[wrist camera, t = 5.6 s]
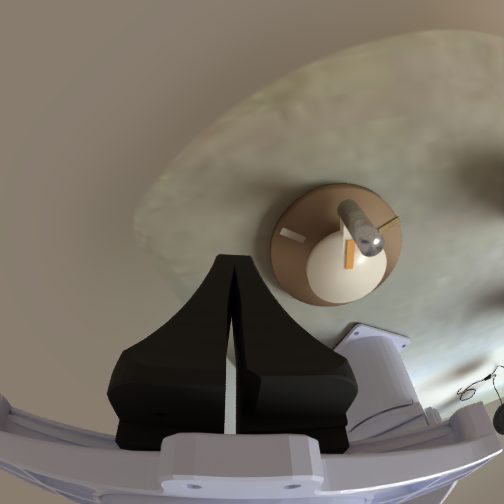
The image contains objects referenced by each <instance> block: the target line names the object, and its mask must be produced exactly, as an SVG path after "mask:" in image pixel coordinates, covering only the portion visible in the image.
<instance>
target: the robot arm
mask: <svg viewBox="0 0 504 504" xmlns="http://www.w3.org/2000/svg"><path fill="white" fill-rule="evenodd" d="M231 317H232V327H233V338H234V348H235V358H236V434H224V423H225V392H226V354H227V347H228V339H229V332H230V324H231ZM410 342H411V340H410V338H409V337H405V336H402V335H398V334H395V333H391V332H388V331H384V330H381V329H377V328H374V327H371V326H367V325H364V324H357V325H355V326H354V327H353V329H352V330H351V331H350V332H349V333H348V334H347V335H346V337H345V338H344V339H343V340H342V341H341V342H340V343H339V344H338V346H337V347H336V348H335V349H334V350H332V349H330V348H328V347H327V346H325V345H324V344H322V343H321V342H320V341H318V340H317V339H315V338H314V337H313V336H311V335H310V334H309V333H308V332H307V331H305V330H304V329H303V328H302V327H301V326H300V325H299V324H297V323H296V322H295V321H294V320H293V319H292V318H291V317H290V315H289V314H288V313H287V312H286V311H285V310H284V309H283V308H282V306H281V305H280V304H279V303H278V301H277V300H276V299H275V297H274V296H273V295H272V293H271V292H270V290H269V289H268V287H267V285H266V284H265V282H264V281H263V279H262V277H261V276H260V274H259V272H258V270H257V268H256V266H255V264H254V261H253V258H252V257H251V256H245V255H225V254H219V255H218V256H216V259H215V261H214V264H213V266H212V268H211V269H210V271H209V273H208V274H207V276H206V278H205V279H204V281H203V282H202V284H201V285H200V287H199V288H198V289H197V291H196V292H195V293H194V294H193V296H192V297H191V298H190V299H189V301H188V302H187V303H186V304H185V305H184V306H183V307H182V308H181V309H180V310H179V311H178V312H177V313H176V314H175V315H174V316H173V317H172V318H171V319H170V320H169V321H168V322H167V323H165V324H164V325H163V326H162V327H160V328H159V329H158V330H156V331H155V332H154V333H152V334H151V335H149V336H148V337H147V338H145V339H144V340H142V341H140V342H139V343H137V344H135V345H133V346H132V347H130V348H128V349H126V350H124V351H123V352H122V354H121V356H120V358H119V360H118V362H117V364H116V366H115V368H114V370H113V373H112V376H111V380H110V384H109V387H108V391H107V396H108V399H109V401H110V403H111V405H112V407H113V409H114V411H115V412H116V414H117V416H118V418H119V425H118V429H117V434H116V436H114V435H109V434H104V433H99V432H95V431H91V430H86V429H82V428H78V427H74V426H70V425H67V424H63V423H60V422H56V421H53V420H49V419H46V418H43V417H40V416H37V415H34V414H31V413H28V412H25V411H22V410H19V409H17V408H14V407H12V406H11V405H10V404H9V402H8V401H7V399H6V398H5V397H4V396H2V395H1V394H0V469H1V470H3V471H5V472H7V473H9V474H11V475H13V476H15V477H17V478H19V479H21V480H23V481H25V482H28V483H30V484H32V485H34V486H37V487H39V488H41V489H43V490H46V491H48V492H50V493H53V494H55V495H58V496H60V497H63V498H66V499H68V500H71V501H74V502H77V503H80V504H442V503H443V501H444V500H445V499H446V497H447V496H448V495H449V493H450V492H451V491H452V489H453V488H454V486H455V485H456V483H457V481H458V480H459V479H461V478H464V477H466V476H467V475H469V474H470V473H472V472H473V471H475V470H477V469H478V468H480V467H481V466H482V465H483V464H485V463H486V462H488V461H490V460H491V459H492V458H493V457H495V456H496V455H498V454H499V453H500V452H502V449H503V448H502V445H501V443H500V440H499V438H498V435H497V433H496V431H495V428H494V426H493V424H492V422H491V419H490V417H489V415H488V413H487V410H486V408H485V406H484V404H483V402H481V401H480V402H477V403H474V404H471V405H468V406H465V407H463V408H461V409H459V410H457V411H456V412H455V413H454V414H453V415H452V416H451V417H450V419H449V420H446V421H443V422H442V420H441V417H440V415H439V412H438V410H437V409H434V408H433V409H432V408H431V407H428V408H426V409H425V412H426V414H425V412H424V410H423V408H422V406H421V404H420V402H419V400H418V397H417V395H416V392H415V390H414V387H413V385H412V382H411V380H410V378H409V375H408V373H407V370H406V368H405V366H404V363H403V361H402V359H401V356H400V353H401V352H402V351H403V350H404V349H405V348H406V347H407V346H408V345H409V344H410ZM426 415H427V416H426ZM427 418H428V419H427Z"/></svg>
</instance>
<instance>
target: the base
mask: <svg viewBox="0 0 504 504" xmlns="http://www.w3.org/2000/svg"><path fill="white" fill-rule="evenodd" d="M346 199H352V200H354V201H355V202H356V203H357V204H358V205H359V206H360V208H361V209H362V210H363V211H364V213H365V214H366V215H367V217H368V218H369V219H370V221H371V222H372V223H373V224H374V226H375V227H376V228H377V230H378V231H379V232H380V234H381V235H382V236H383V238H384V241H385V244H384V248H383V249H384V252H385V254H386V260H387V264H386V270H385V273H384V275H383V277H382V279H381V281H380V282H379V284H378V285H377V286H376V287H375V288H374V289H373V290H372V291H374V290H375V289H376V288H377V287H379V286H380V285H381V284H382V283H383V282H384V281H385V279H386V278H387V277H388V276H389V275H390V273H391V272H392V270H393V269H394V267H395V265H396V263H397V260H398V258H399V255H400V251H401V246H402V232H401V226H400V222H401V221H400V218H399V216H398V217H397V216H396V214H395V213H394V211H393V210H392V209H391V207H390V206H389V205H388V204H387V203H386V202H385V201H384V200H383V199H382V198H381V197H380V196H379V195H377V194H376V193H374V192H373V191H371V190H369V189H367V188H365V187H362V186H359V185H354V184H347V183H338V184H330V185H326V186H322V187H319V188H316V189H314V190H311V191H310V192H308V193H306V194H304V195H303V196H301V197H300V198H298V199H297V200H296V201H294V202H293V203H292V204H291V205H290V206H289V207H288V208H287V209H286V211H285V212H284V213H283V214H282V216H281V217H280V219H279V220H278V222H277V224H276V227H275V229H274V232H273V235H272V239H271V259H272V265H273V270H274V273H275V276H276V278H277V280H278V282H279V284H280V285H281V286H282V288H283V289H284V290H285V291H286V292H287V293H288V294H289V295H291V296H292V297H294V298H295V299H297V300H299V301H301V302H304V303H306V304H310V305H315V306H328V307H329V306H338V305H344V304H347V303H351V302H353V301H351V302H347V303H332V302H327V301H325V300H323V299H321V298H319V297H318V296H317V295H316V294H315V293H314V292H313V291H312V289H311V287H310V285H309V281H308V278H307V274H306V265H307V260H308V258H309V255H310V253H311V252H312V250H313V249H314V247H315V246H316V245H317V244H318V243H319V242H320V241H321V240H323V239H324V238H325V237H327V236H329V235H330V234H332V233H335V232H337V231H340V217H339V215H338V213H337V209H338V206H339V204H340V203H341V202H342V201H344V200H346ZM372 291H371V292H372ZM371 292H370V293H371ZM368 294H369V293H368ZM368 294H367V295H368ZM365 296H366V295H365ZM357 300H358V299H357ZM355 301H356V300H355Z"/></svg>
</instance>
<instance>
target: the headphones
mask: <svg viewBox="0 0 504 504" xmlns="http://www.w3.org/2000/svg"><path fill="white" fill-rule="evenodd" d="M499 366H500V365H499ZM497 367H498V366H497ZM501 367H503V366H501ZM496 369H497V368H496ZM496 369H495V371H496ZM495 371H494V372H495ZM494 372H493V373H494ZM493 373H492V374H493ZM492 374H490V375H489V376H488V377H486V378H485V379H484V380H485V381H486V380H488V379H490V378H491V375H492ZM493 376H494V375H493ZM493 376H492V377H493ZM495 377H496V376H495ZM495 377H494V378H495ZM494 378H493V384H494ZM484 380H482V381H484ZM479 382H480V381H479ZM476 383H477V382H476ZM474 384H475V383H474ZM472 385H473V384H472ZM469 387H470V386H469ZM469 387H468V388H469ZM468 388H467V389H468ZM494 388H495V386H494ZM467 389H466V390H467ZM460 390H461V388H460ZM460 390H459V391H460ZM466 390H465V391H464V392H463V393H465V392H466ZM469 390H475V389H469ZM495 390H496V388H495ZM459 391H458V392H459ZM467 391H468V390H467ZM475 391H476V390H475ZM496 392H497V390H496ZM463 393H459V394H463ZM457 394H458V393H457ZM459 394H458V395H459ZM474 394H475V392H474ZM497 394H498V392H497ZM498 396H499V394H498ZM461 397H462V395H461ZM470 398H471V397H470ZM470 398H468V399H470ZM499 398H500V396H499ZM468 399H466V400H468ZM460 400H461V398H460ZM461 401H464V400H461ZM493 426H494V428H495V430H496V431H497V432H498V433H499V434H502V435H504V403H503V404H502V405H501V406H499V407H498V409H497V411H496V412H495V415H494V418H493Z"/></svg>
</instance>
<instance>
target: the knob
mask: <svg viewBox="0 0 504 504" xmlns="http://www.w3.org/2000/svg"><path fill="white" fill-rule="evenodd" d="M337 213H338V215H339V217H340V231H337V232H335V233H332V234H330V235H329V236H327V237H325V238H324V239H323V240H321V241H320V242H319V243H318V244H317V245H316V246H315V247H314V249H313V250H312V252H311V253H310V255H309V258H308V260H307V265H306V274H307V278H308V281H309V285H310V287H311V289H312V291H313V292H314V293H315V294H316V295H317V296H318V297H319V298H321V299H323V300H325V301H327V302H332V303H347V302H351V301H355V300H357V299H360V298H362V297H364V296H365V295H367V294H368V293H370V292H371V291H372V290H373V289H374V288H375V287H376V286H377V285H378V284H379V282H380V281H381V279H382V277H383V275H384V273H385V270H386V264H387V260H386V254H385V252H384V249H383V248H384V244H385V241H384V238H383V236H382V235H381V234H380V232H379V231H378V230H377V228H376V227H375V226H374V224H373V223H372V222H371V221H370V219H369V218H368V217H367V215H366V214H365V213H364V211H363V210H362V209H361V208H360V206H359V205H358V204H357V203H356V202H355V201H354V200H352V199H346V200H344V201H342V202H341V203H340V204H339V206H338V209H337Z"/></svg>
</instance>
